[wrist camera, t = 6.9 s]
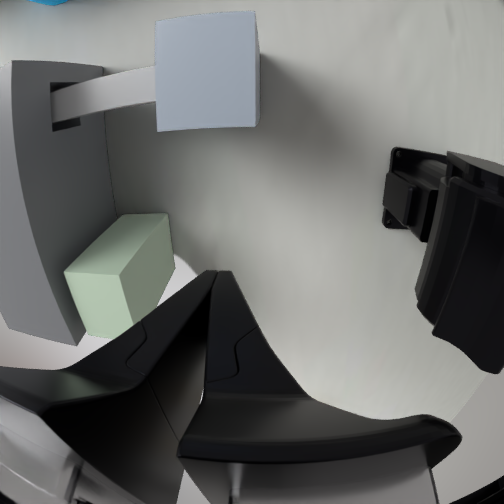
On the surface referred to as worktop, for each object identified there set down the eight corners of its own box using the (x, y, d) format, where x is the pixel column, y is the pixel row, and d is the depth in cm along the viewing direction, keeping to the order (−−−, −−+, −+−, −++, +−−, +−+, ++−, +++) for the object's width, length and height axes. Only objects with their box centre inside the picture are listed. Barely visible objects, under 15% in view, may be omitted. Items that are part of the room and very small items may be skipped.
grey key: (259, 51, 16) (254, 10, 8) (260, 118, 18) (255, 126, 11) (63, 84, 17) (-17, 91, 9) (66, 139, 19) (-11, 167, 11)
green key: (167, 213, 22) (118, 275, 14) (175, 268, 24) (139, 342, 17) (41, 218, 23) (-19, 264, 15) (54, 263, 25) (4, 315, 17)
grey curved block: (102, 66, 17) (11, 60, 8) (127, 270, 25) (76, 346, 16) (33, 90, 17) (-51, 105, 8) (64, 266, 25) (8, 328, 17)
